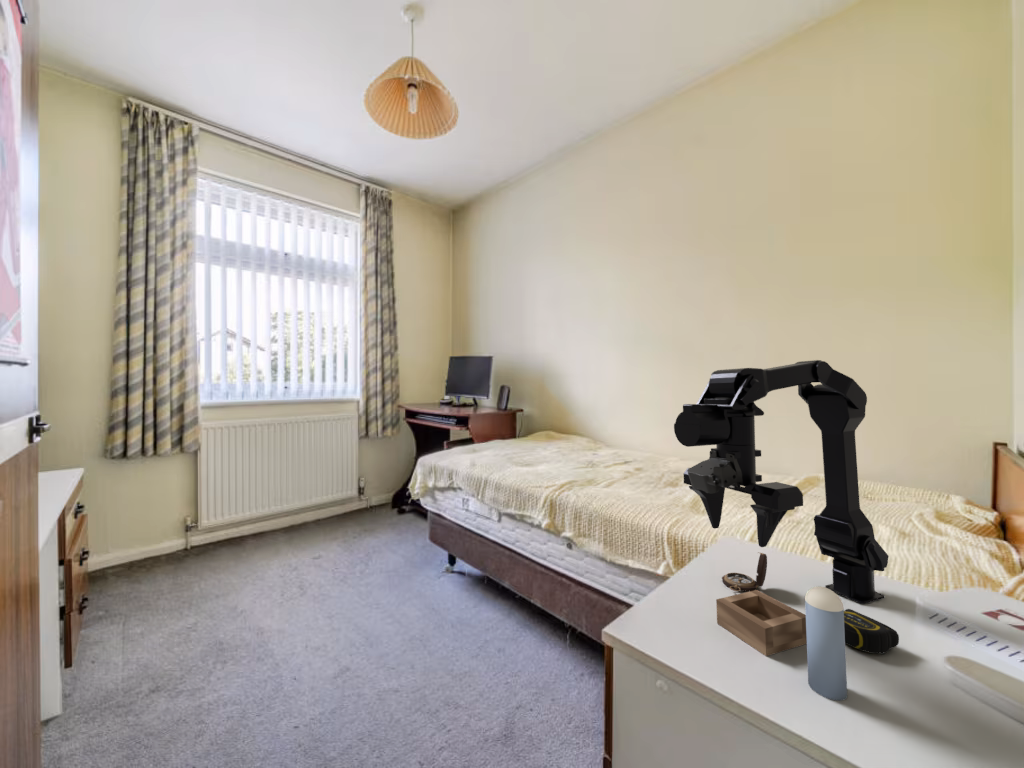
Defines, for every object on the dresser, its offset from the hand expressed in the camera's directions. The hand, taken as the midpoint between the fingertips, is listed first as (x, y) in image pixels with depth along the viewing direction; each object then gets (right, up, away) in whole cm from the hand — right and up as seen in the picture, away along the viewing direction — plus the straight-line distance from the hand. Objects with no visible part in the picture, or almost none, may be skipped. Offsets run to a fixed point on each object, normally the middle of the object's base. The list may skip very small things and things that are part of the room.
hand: (737, 536), depth 68 cm
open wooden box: (+2, -15, -3) cm, 15 cm away
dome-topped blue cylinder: (+3, -14, -15) cm, 21 cm away
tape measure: (+16, -15, -5) cm, 22 cm away
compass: (+8, -15, +12) cm, 21 cm away
